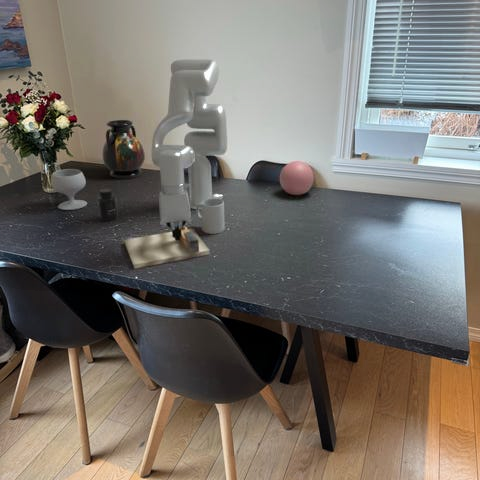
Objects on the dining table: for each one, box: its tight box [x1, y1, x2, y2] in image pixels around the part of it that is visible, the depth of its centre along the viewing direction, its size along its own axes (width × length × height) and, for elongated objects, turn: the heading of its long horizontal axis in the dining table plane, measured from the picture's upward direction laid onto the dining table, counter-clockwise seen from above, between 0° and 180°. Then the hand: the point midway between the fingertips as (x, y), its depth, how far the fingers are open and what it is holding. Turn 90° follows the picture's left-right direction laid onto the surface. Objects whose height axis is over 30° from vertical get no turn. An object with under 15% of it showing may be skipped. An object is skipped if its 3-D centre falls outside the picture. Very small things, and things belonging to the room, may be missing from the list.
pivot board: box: [123, 224, 211, 269], centre depth 146 cm, size 25×20×6 cm
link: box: [180, 226, 188, 248], centre depth 150 cm, size 14×4×2 cm, turn 20°
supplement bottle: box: [97, 188, 119, 222], centre depth 170 cm, size 7×7×12 cm
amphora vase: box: [102, 119, 146, 180], centre depth 223 cm, size 22×22×28 cm
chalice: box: [50, 168, 88, 211], centre depth 184 cm, size 14×14×15 cm
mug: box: [195, 199, 226, 235], centre depth 160 cm, size 12×8×11 cm
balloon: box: [279, 160, 315, 196], centre depth 196 cm, size 15×20×15 cm
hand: (177, 238), depth 148 cm, fingers closed
